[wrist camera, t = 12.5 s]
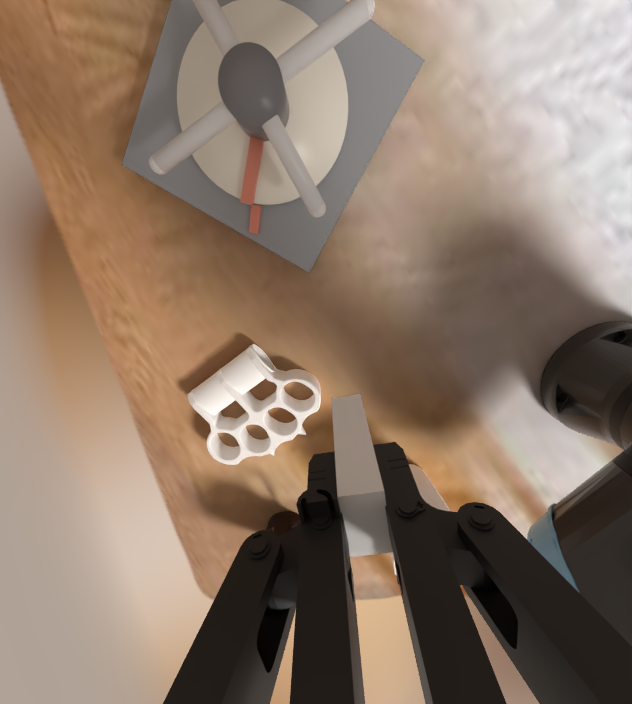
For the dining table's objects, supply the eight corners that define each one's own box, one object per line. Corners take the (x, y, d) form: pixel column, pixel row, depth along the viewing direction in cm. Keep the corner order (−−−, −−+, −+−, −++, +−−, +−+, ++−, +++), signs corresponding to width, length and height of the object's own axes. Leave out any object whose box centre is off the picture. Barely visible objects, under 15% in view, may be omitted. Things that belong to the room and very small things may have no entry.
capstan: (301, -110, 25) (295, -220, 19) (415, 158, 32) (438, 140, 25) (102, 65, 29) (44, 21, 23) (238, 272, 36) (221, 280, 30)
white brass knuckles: (273, 326, 41) (340, 406, 44) (176, 400, 45) (245, 468, 48) (269, 333, 37) (342, 419, 41) (165, 413, 41) (240, 484, 45)
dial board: (418, 70, 31) (425, 57, 29) (309, 271, 38) (308, 273, 35) (211, -82, 28) (201, -111, 25) (132, 168, 34) (119, 163, 32)
